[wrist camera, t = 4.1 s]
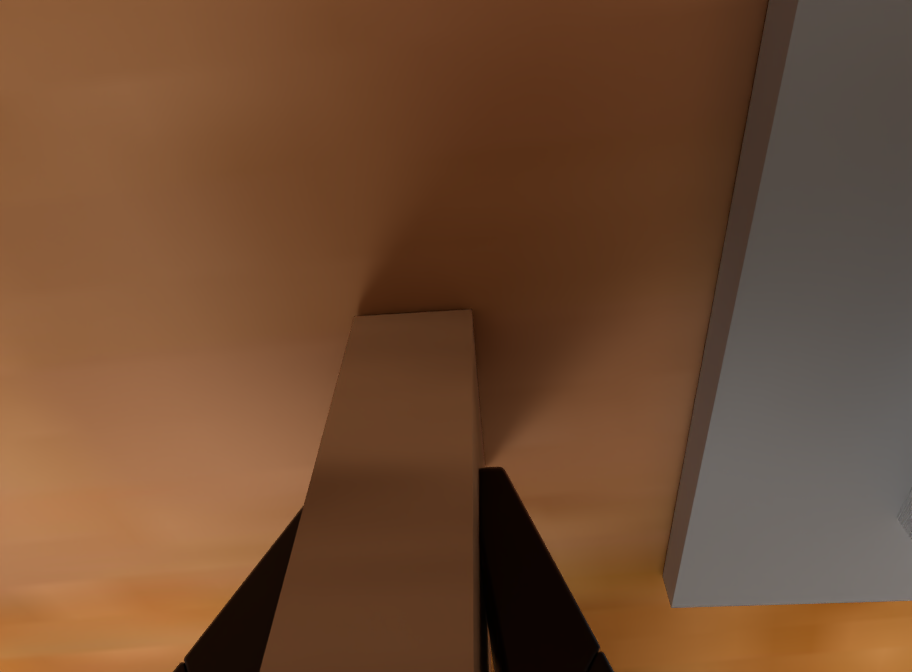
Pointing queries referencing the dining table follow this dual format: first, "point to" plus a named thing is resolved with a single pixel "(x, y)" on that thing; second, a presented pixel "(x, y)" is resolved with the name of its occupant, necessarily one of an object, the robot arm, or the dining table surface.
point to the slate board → (809, 329)
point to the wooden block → (392, 511)
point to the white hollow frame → (906, 514)
